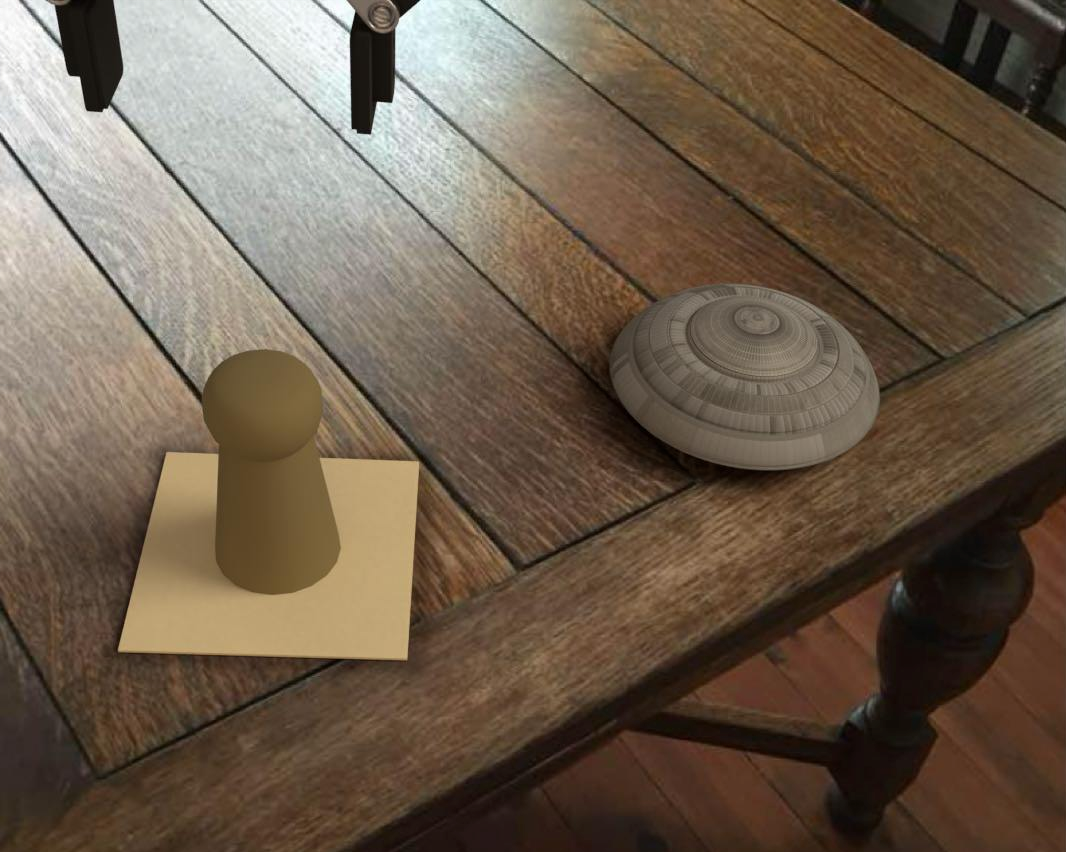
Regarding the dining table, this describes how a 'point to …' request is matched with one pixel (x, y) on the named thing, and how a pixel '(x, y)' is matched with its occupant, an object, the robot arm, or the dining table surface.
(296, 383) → the brown peg doll
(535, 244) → the dining table surface
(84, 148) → the dining table surface
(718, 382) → the flying saucer
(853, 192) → the dining table surface
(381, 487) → the felt square
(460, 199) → the dining table surface
